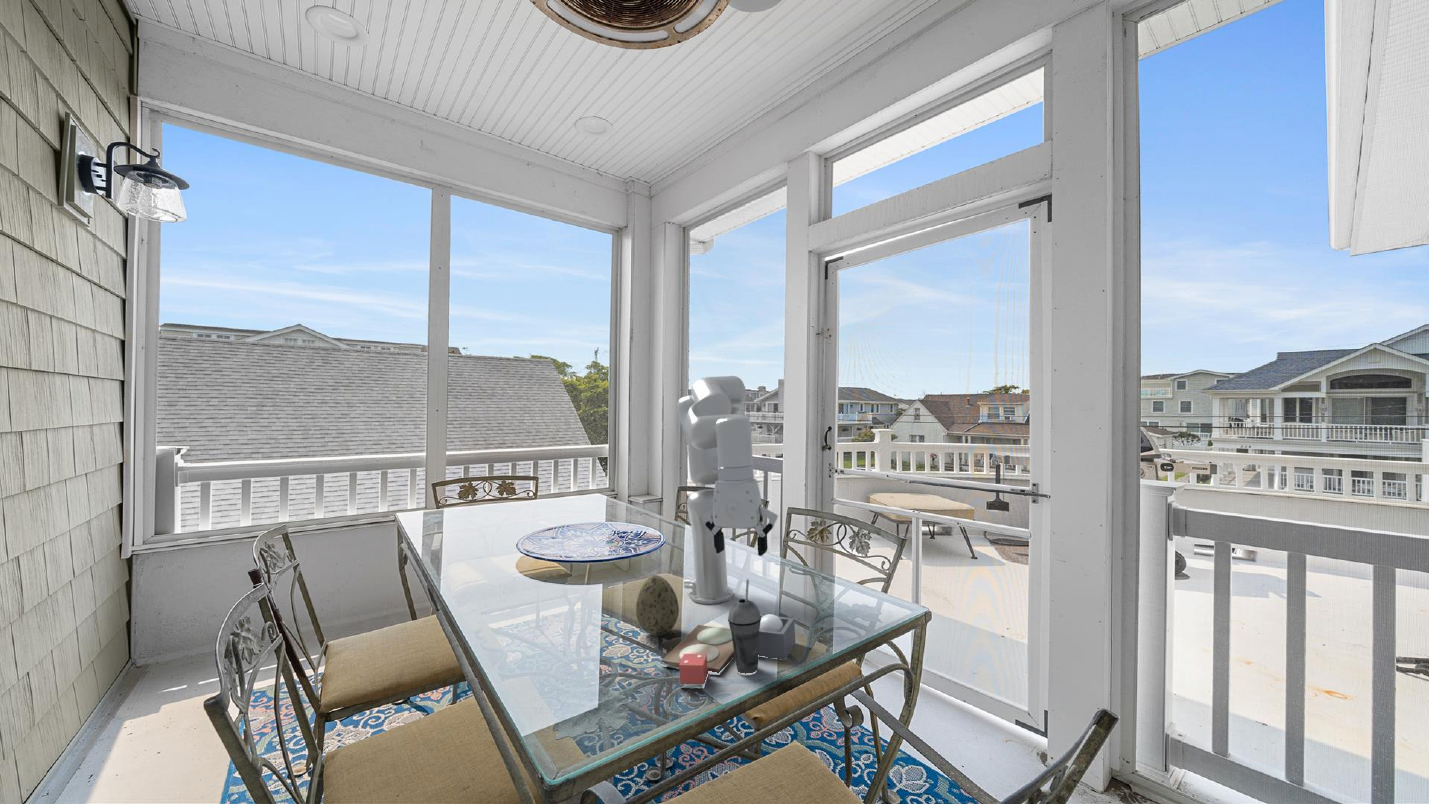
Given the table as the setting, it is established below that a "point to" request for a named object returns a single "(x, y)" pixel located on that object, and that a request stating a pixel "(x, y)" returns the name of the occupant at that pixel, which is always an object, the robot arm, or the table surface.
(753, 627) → the beverage cup
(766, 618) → the white ball
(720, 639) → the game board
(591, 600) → the table surface
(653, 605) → the decorative egg
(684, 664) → the die
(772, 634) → the housing
